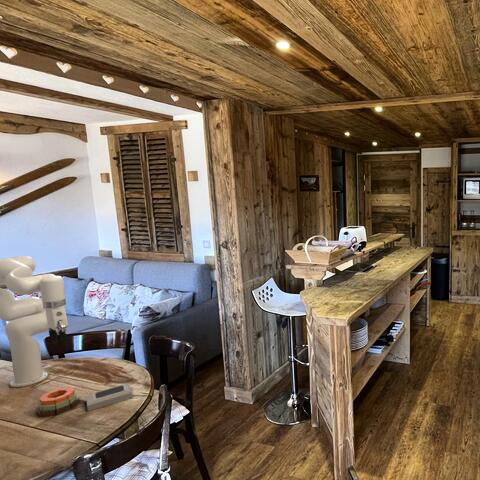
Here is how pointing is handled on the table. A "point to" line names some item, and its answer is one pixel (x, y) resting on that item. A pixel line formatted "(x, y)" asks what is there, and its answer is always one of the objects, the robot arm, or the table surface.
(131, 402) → the table surface
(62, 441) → the table surface
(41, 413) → the walnut ring
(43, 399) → the terracotta ring
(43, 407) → the green ring
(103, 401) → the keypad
